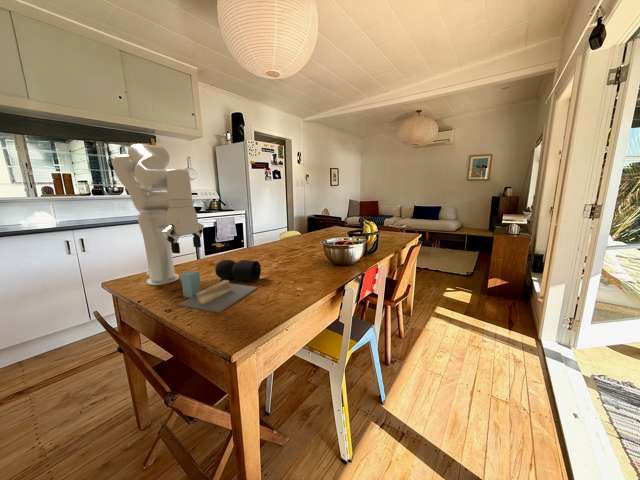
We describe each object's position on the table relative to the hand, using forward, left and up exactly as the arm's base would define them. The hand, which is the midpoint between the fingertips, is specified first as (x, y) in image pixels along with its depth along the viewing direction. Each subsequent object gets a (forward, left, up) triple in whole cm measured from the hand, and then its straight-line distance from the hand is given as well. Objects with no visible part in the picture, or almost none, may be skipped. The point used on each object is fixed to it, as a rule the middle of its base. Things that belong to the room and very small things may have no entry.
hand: (187, 250), depth 95 cm
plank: (+11, 0, -18) cm, 21 cm away
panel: (+12, +2, -18) cm, 22 cm away
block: (0, 0, -18) cm, 18 cm away
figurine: (+6, +20, -18) cm, 28 cm away
